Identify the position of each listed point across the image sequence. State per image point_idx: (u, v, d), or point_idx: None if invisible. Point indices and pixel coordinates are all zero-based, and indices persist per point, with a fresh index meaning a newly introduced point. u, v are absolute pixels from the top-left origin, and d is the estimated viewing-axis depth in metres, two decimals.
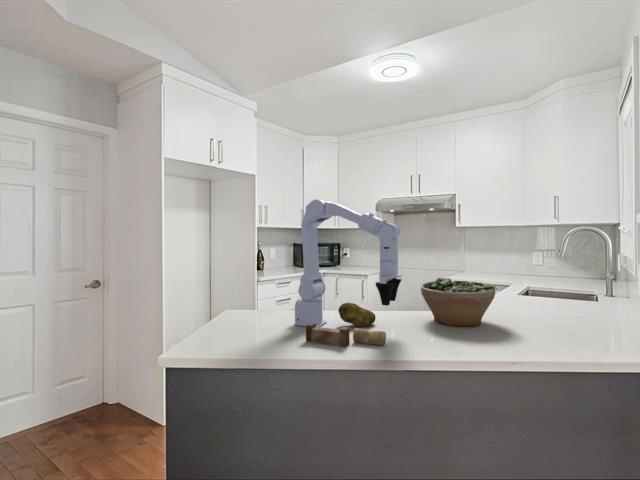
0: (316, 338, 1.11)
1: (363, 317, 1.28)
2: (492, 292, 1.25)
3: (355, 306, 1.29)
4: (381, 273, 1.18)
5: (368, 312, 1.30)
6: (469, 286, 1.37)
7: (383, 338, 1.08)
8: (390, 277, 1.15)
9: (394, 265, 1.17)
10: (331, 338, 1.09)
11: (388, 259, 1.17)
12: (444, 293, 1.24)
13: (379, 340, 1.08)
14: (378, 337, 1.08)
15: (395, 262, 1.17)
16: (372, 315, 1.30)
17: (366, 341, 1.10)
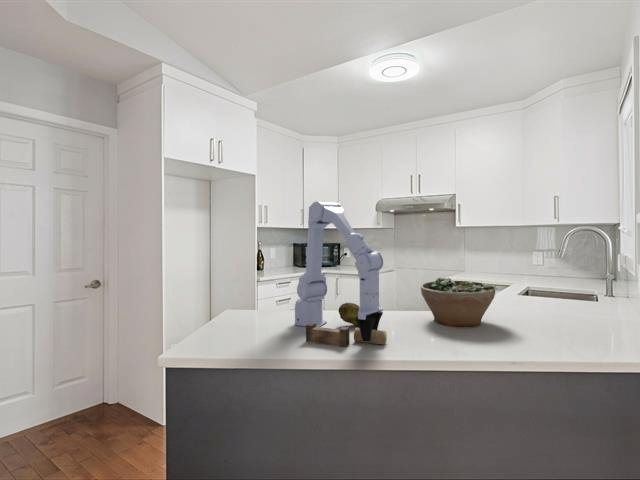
0: (316, 338, 1.11)
1: None
2: (492, 292, 1.25)
3: (355, 306, 1.29)
4: (361, 306, 1.10)
5: None
6: (469, 286, 1.37)
7: (384, 336, 1.09)
8: (370, 312, 1.06)
9: (374, 299, 1.08)
10: (331, 338, 1.09)
11: (364, 292, 1.08)
12: (444, 293, 1.24)
13: (380, 338, 1.08)
14: (379, 334, 1.09)
15: (376, 295, 1.08)
16: None
17: None
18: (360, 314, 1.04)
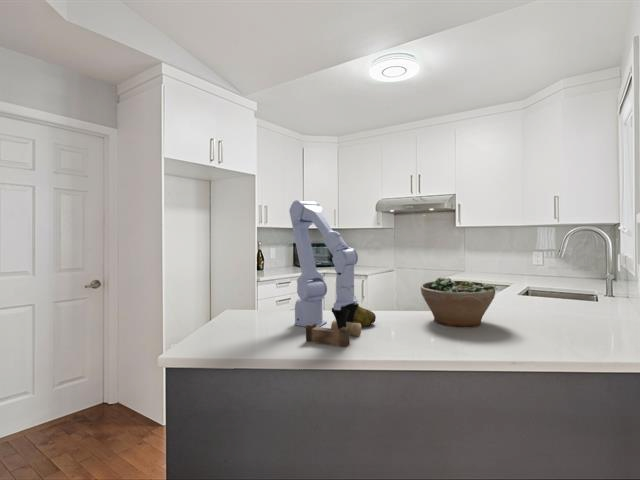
0: (316, 338, 1.11)
1: (363, 317, 1.28)
2: (492, 292, 1.25)
3: None
4: (337, 298, 1.19)
5: (368, 312, 1.30)
6: (469, 286, 1.37)
7: (358, 329, 1.18)
8: (345, 303, 1.16)
9: (349, 291, 1.18)
10: (331, 338, 1.09)
11: (340, 285, 1.18)
12: (444, 293, 1.24)
13: (355, 331, 1.17)
14: (353, 328, 1.18)
15: (351, 288, 1.18)
16: (372, 315, 1.30)
17: None
18: (335, 305, 1.14)
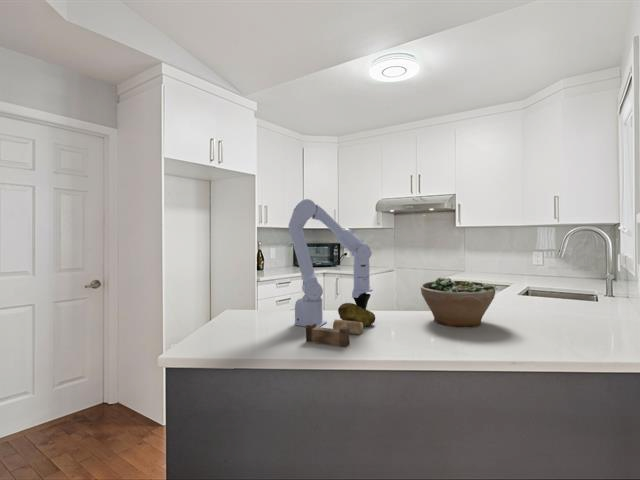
0: (316, 338, 1.11)
1: (363, 318, 1.27)
2: (492, 292, 1.25)
3: (355, 306, 1.29)
4: (354, 288, 1.34)
5: (368, 312, 1.30)
6: (469, 286, 1.37)
7: (360, 325, 1.20)
8: (362, 292, 1.30)
9: (365, 281, 1.32)
10: (331, 338, 1.09)
11: (365, 275, 1.32)
12: (444, 293, 1.24)
13: (357, 324, 1.19)
14: (356, 322, 1.20)
15: (367, 278, 1.32)
16: (372, 315, 1.30)
17: (344, 326, 1.21)
18: (354, 293, 1.28)
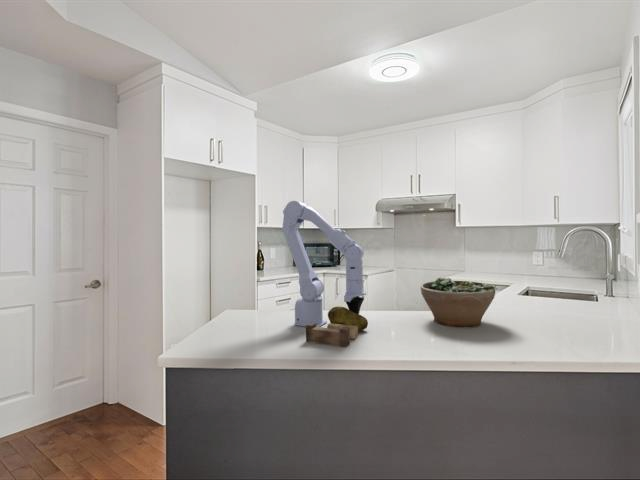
0: (316, 338, 1.11)
1: (353, 323, 1.21)
2: (492, 292, 1.25)
3: (345, 310, 1.23)
4: (347, 291, 1.27)
5: (359, 317, 1.23)
6: (469, 286, 1.37)
7: (355, 336, 1.15)
8: (354, 295, 1.23)
9: (358, 284, 1.25)
10: (331, 338, 1.09)
11: (354, 278, 1.25)
12: (444, 293, 1.24)
13: None
14: None
15: (360, 281, 1.26)
16: (363, 321, 1.23)
17: None
18: (346, 297, 1.22)
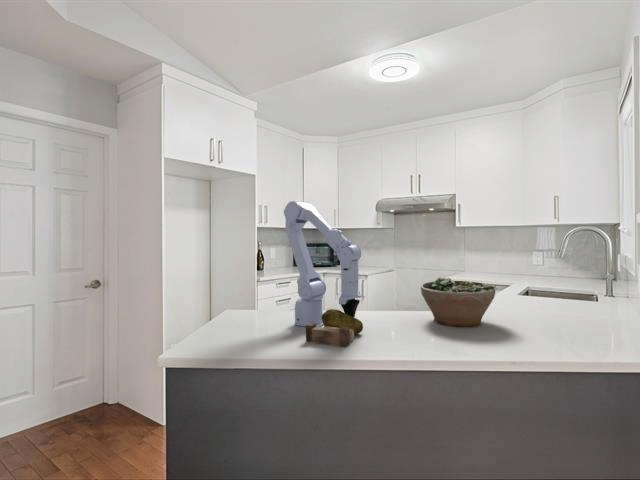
0: (316, 338, 1.11)
1: (347, 326, 1.17)
2: (492, 292, 1.25)
3: (339, 313, 1.19)
4: (342, 293, 1.23)
5: (354, 320, 1.19)
6: (469, 286, 1.37)
7: (352, 333, 1.13)
8: (349, 298, 1.19)
9: (354, 286, 1.21)
10: (331, 338, 1.09)
11: (347, 280, 1.21)
12: (444, 293, 1.24)
13: None
14: None
15: (355, 283, 1.22)
16: (358, 324, 1.18)
17: None
18: (340, 299, 1.18)
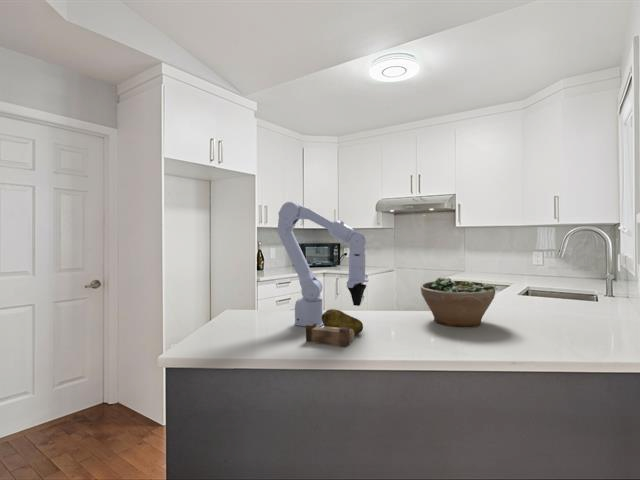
0: (316, 338, 1.11)
1: (347, 326, 1.17)
2: (492, 292, 1.25)
3: (339, 313, 1.19)
4: (349, 278, 1.29)
5: (354, 321, 1.19)
6: (469, 286, 1.37)
7: (353, 333, 1.13)
8: (357, 282, 1.26)
9: (361, 271, 1.28)
10: (331, 338, 1.09)
11: (359, 265, 1.27)
12: (444, 293, 1.24)
13: None
14: None
15: (362, 268, 1.28)
16: (358, 324, 1.18)
17: (337, 327, 1.15)
18: (348, 283, 1.24)
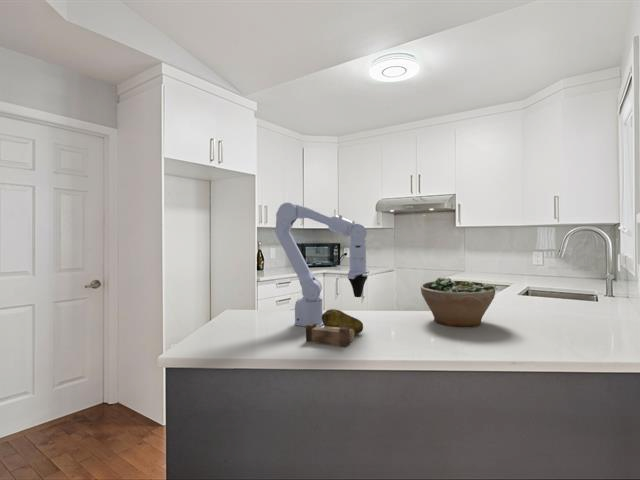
0: (316, 338, 1.11)
1: (347, 326, 1.17)
2: (492, 292, 1.25)
3: (339, 313, 1.19)
4: (350, 269, 1.30)
5: (354, 321, 1.19)
6: (469, 286, 1.37)
7: (353, 334, 1.13)
8: (358, 273, 1.26)
9: (362, 263, 1.28)
10: (331, 338, 1.09)
11: (360, 257, 1.28)
12: (444, 293, 1.24)
13: None
14: None
15: (363, 259, 1.29)
16: (358, 324, 1.18)
17: None
18: (349, 274, 1.25)
